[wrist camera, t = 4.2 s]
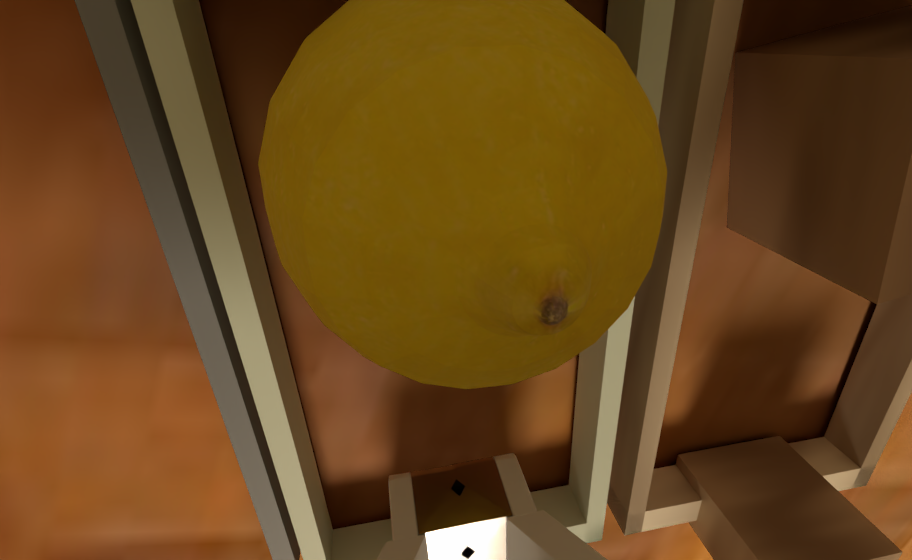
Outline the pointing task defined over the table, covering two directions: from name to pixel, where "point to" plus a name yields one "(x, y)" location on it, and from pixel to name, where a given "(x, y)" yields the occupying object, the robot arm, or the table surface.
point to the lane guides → (186, 252)
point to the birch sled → (654, 347)
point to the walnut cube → (829, 152)
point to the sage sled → (254, 309)
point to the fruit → (463, 184)
